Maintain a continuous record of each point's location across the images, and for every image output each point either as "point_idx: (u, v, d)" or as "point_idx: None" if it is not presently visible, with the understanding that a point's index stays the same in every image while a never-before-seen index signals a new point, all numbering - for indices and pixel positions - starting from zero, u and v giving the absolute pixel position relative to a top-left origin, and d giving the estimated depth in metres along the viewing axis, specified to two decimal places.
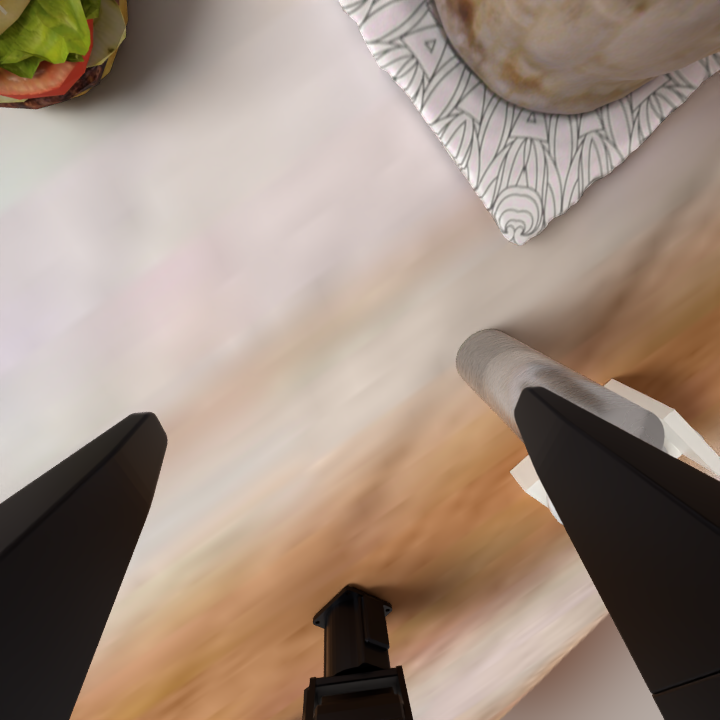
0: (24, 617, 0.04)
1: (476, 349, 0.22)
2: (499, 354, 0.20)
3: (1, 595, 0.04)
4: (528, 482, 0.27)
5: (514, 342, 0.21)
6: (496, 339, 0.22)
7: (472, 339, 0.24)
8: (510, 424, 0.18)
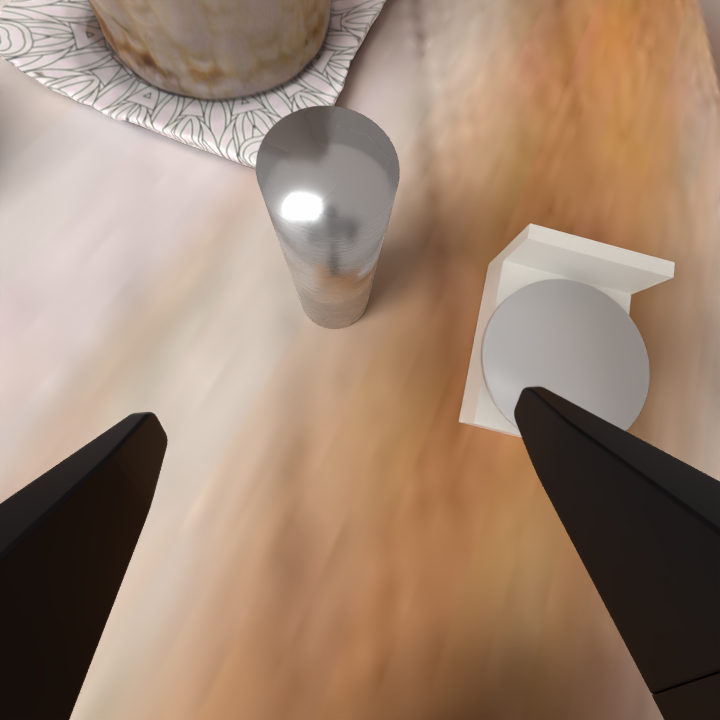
0: (24, 617, 0.04)
1: None
2: None
3: (1, 595, 0.04)
4: (473, 411, 0.19)
5: None
6: None
7: None
8: (295, 268, 0.14)
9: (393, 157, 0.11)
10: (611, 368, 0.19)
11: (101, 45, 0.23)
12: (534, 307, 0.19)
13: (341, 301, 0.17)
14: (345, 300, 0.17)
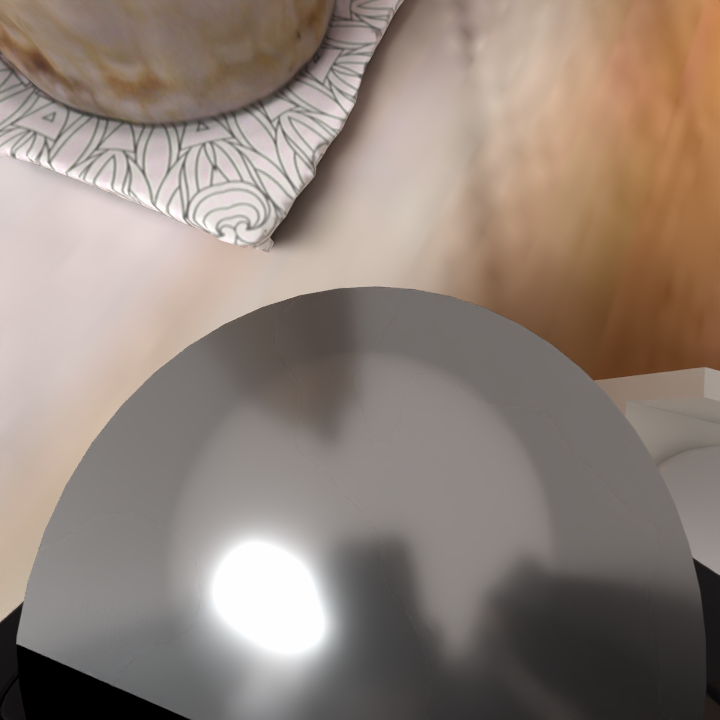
0: None
1: None
2: None
3: None
4: None
5: None
6: None
7: None
8: None
9: (662, 523, 0.02)
10: None
11: None
12: (699, 501, 0.11)
13: None
14: None
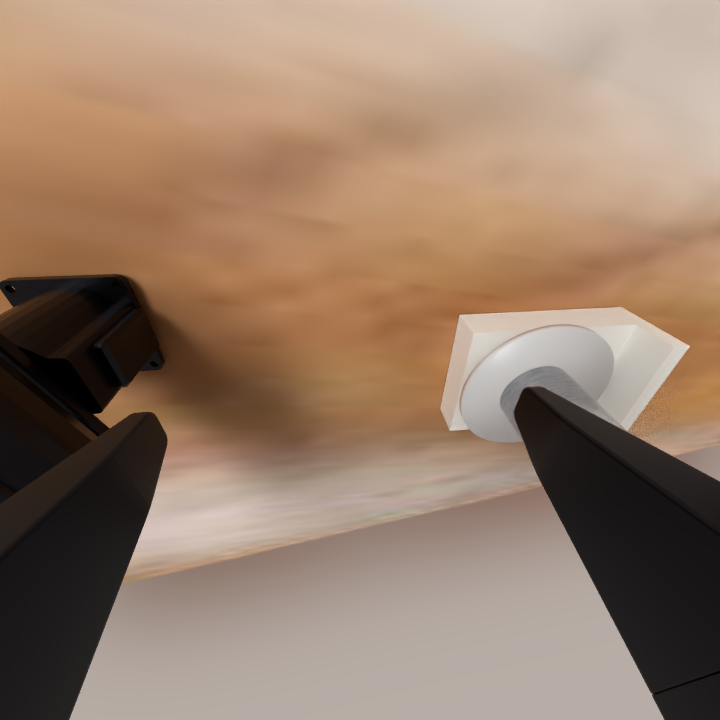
0: (24, 617, 0.04)
1: (581, 388, 0.19)
2: (614, 419, 0.17)
3: (1, 595, 0.04)
4: (482, 329, 0.20)
5: None
6: None
7: (570, 376, 0.20)
8: None
9: None
10: None
11: None
12: (589, 361, 0.20)
13: None
14: None
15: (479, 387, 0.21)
